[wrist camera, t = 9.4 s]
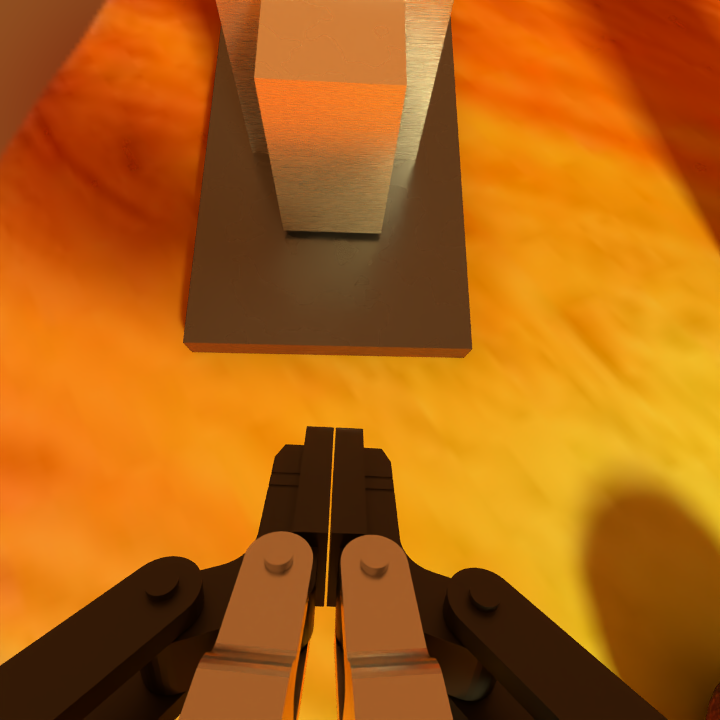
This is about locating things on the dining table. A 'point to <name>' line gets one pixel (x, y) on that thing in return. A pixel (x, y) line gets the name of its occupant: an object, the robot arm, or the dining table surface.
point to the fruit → (714, 705)
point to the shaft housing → (332, 249)
